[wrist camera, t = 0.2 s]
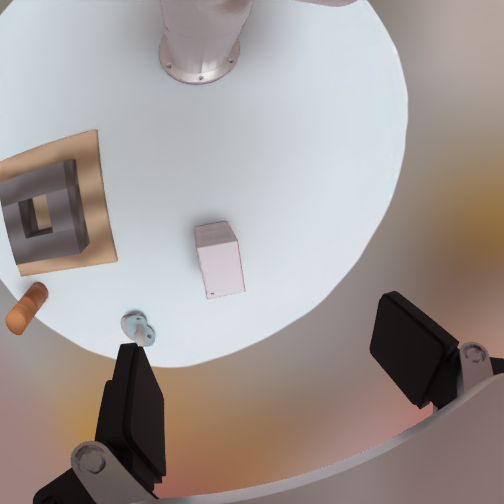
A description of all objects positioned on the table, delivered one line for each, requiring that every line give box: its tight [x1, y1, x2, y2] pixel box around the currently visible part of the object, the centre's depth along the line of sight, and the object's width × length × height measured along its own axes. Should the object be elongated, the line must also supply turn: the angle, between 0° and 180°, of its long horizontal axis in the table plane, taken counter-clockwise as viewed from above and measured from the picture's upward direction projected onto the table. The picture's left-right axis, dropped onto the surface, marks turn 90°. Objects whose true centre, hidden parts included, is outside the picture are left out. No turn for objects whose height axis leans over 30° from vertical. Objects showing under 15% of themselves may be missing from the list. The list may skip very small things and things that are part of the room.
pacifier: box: [121, 315, 155, 347], centre depth 46 cm, size 7×6×6 cm
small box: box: [195, 221, 245, 299], centre depth 42 cm, size 8×6×10 cm
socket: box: [0, 130, 118, 277], centre depth 35 cm, size 22×22×6 cm
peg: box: [5, 282, 48, 335], centre depth 36 cm, size 4×4×12 cm
